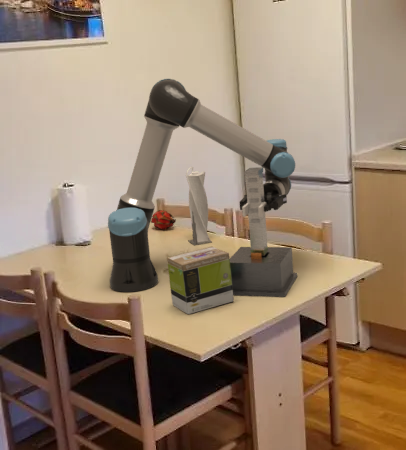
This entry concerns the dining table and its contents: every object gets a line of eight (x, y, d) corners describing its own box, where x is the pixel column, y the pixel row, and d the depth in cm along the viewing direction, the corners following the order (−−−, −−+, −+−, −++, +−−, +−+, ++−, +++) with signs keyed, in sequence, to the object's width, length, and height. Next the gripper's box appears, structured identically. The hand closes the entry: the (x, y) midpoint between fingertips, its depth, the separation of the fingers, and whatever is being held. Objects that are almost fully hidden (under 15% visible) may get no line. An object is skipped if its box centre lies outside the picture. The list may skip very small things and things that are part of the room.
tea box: (216, 293, 206) (212, 245, 202) (234, 302, 197) (230, 252, 194) (171, 305, 199) (166, 255, 196) (187, 315, 191) (182, 264, 187)
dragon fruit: (155, 229, 293) (174, 237, 285) (142, 222, 287) (161, 230, 278) (165, 211, 294) (183, 219, 285) (152, 203, 288) (170, 211, 279)
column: (263, 256, 203) (258, 171, 197) (250, 256, 205) (244, 171, 198) (268, 250, 209) (263, 167, 203) (255, 250, 210) (249, 167, 204)
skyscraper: (187, 240, 266) (180, 167, 259) (207, 237, 268) (200, 165, 262) (194, 245, 258) (187, 170, 251) (214, 241, 261) (208, 167, 254)
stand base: (284, 297, 198) (282, 259, 195) (224, 295, 204) (221, 258, 201) (297, 276, 214) (295, 241, 212) (240, 275, 220) (238, 240, 218)
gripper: (298, 205, 218) (281, 224, 196) (245, 205, 223) (223, 224, 202) (296, 181, 216) (280, 198, 195) (243, 182, 222) (221, 199, 200)
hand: (251, 211), depth 198 cm, fingers closed on column, 4 cm apart
